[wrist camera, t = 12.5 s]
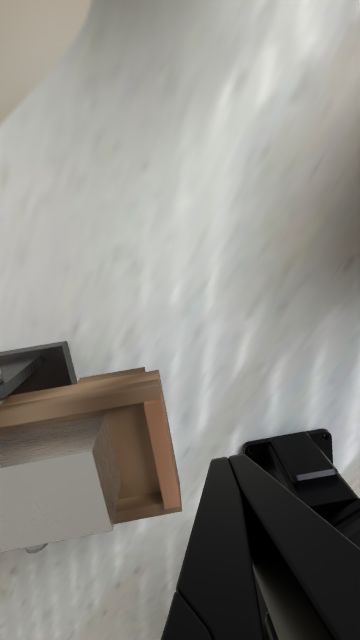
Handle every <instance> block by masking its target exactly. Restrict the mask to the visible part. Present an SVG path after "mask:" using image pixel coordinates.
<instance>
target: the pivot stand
mask: <svg viewBox="0 0 360 640" xmlns="http://www.w3.org/2000/svg"><path fill="white" fill-rule="evenodd" d="M74 384H77V379H76V375H75V371H74V367H73V363H72V359H71V355H70V351H69V347H68V344H67V341H64V342H58V343H52V344H46V345H40V346H34V347H28V348H22V349H16V350H10V351H4V352H0V398H3V397H7V396H11V395H17V394H23V393H28V392H34V391H40V390H46V389H51V388H57V387H63V386H69V385H74ZM47 544H48V543H46V544H41V545H36V546H30V547H25V549H26V551H27V552H28V553H36V552H38V551H40V550H42V549H43V548H44V547H45V546H46V545H47Z"/></svg>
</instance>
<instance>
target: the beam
mask: <svg viewBox="0 0 360 640" xmlns="http://www.w3.org/2000/svg"><path fill="white" fill-rule="evenodd" d="M103 413H105V415H106V419H107V423H108V427H109V431H110V435H111V440H112V444H113V448H114V452H115V456H116V460H117V465H118V469H119V473H120V477H121V484H120V490H119V496H118V501H117V507H116V513H115V519H114V524H117V523H122V522H127V521H133V520H138V519H143V518H148V517H154V516H159V515H164V514H170V513H175V512H180V511H182V505H181V493H180V482H179V477H178V471H177V466H176V461H175V455H174V450H173V445H172V439H171V434H170V428H169V423H168V418H167V412H166V407H165V401H164V396H163V391H162V385H161V380H160V374H159V370H155V371H149V372H145V367H142V368H136V369H131V370H125V371H119V372H113V373H108V374H102V375H96V376H90V377H84V378H80V379H79V381H78V383H77V384H74V385H69V386H63V387H57V388H51V389H46V390H40V391H34V392H28V393H23V394H17V395H11V396H7V397H3V398H0V437H1V436H2V435H3V434H4V433H5V432H6V431H9V430H14V429H20V428H26V427H31V426H37V425H42V424H48V423H53V422H59V421H64V420H70V419H76V418H81V417H87V416H92V415H98V414H103Z"/></svg>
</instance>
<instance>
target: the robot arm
mask: <svg viewBox="0 0 360 640" xmlns="http://www.w3.org/2000/svg"><path fill="white" fill-rule="evenodd" d="M323 435H325V436H324V437H323V438H322V436H323ZM249 448H253V449H252V450H248V449H249ZM243 451H244V454H239V455H233V456H230V457H229V458H227V457H222V458H216V459H212V460H211V463H210V466H209V470H208V474H207V477H206V481H205V484H204V488H203V492H202V495H201V499H200V503H199V506H198V510H197V514H196V517H195V521H194V524H193V528H192V532H191V535H190V539H189V543H188V546H187V550H186V553H185V557H184V561H183V564H182V568H181V572H180V575H179V579H178V582H177V586H176V592H175V593H174V596H173V600H172V603H171V607H170V611H169V614H168V618H167V621H166V624H165V627H164V631H163V634H162V637H161V640H360V498H358V496H357V495H356V494H355V493H354V491H353V490H352V489H351V488H350V486H349V485H348V484H347V483H346V481H345V480H344V479H343V478H342V476H341V475H340V474H339V473H338V471H337V469H336V468H335V466H334V465H333V455H332V436H331V434H330V433H329V432H328V431H327V430H326V429H317V430H312V431H306V432H299V433H293V434H287V435H282V436H276V437H272V438H267V439H261V440H255V441H250V442H247V443H245V444H244V446H243Z"/></svg>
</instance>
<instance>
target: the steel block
mask: <svg viewBox="0 0 360 640" xmlns="http://www.w3.org/2000/svg"><path fill="white" fill-rule="evenodd" d="M120 484H121V477H120V473H119V469H118V465H117V460H116V456H115V452H114V448H113V444H112V440H111V435H110V431H109V427H108V423H107V419H106V415H105V413H103V414H98V415H92V416H87V417H81V418H76V419H70V420H64V421H59V422H53V423H48V424H42V425H37V426H31V427H26V428H20V429H14V430H9V431H6V432H5V433H4V434H3V435H2V436H1V437H0V552H4V551H9V550H15V549H20V548H25V547H30V546H36V545H41V544H46V543H51V542H56V541H62V540H67V539H72V538H77V537H82V536H88V535H93V534H98V533H103V532H108V531H112V530H113V524H114V519H115V513H116V507H117V501H118V496H119V490H120Z"/></svg>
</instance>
